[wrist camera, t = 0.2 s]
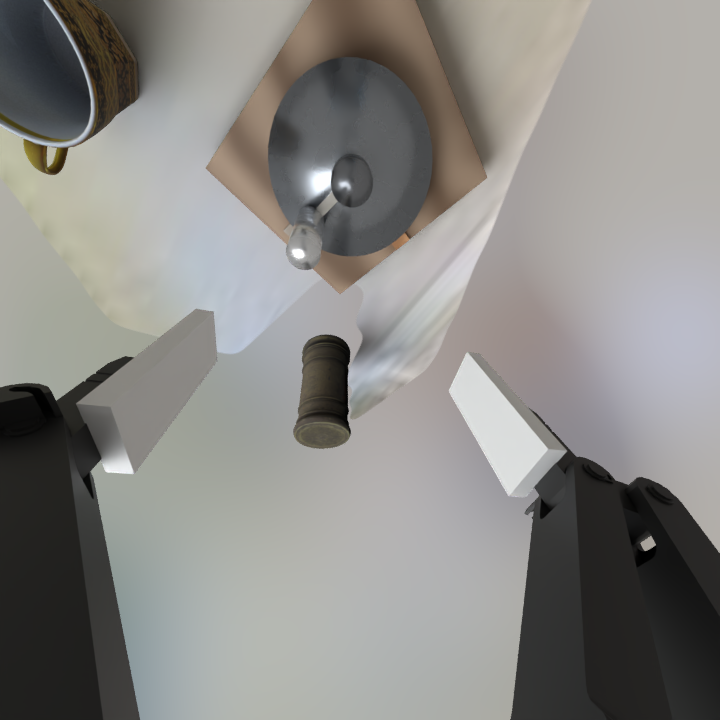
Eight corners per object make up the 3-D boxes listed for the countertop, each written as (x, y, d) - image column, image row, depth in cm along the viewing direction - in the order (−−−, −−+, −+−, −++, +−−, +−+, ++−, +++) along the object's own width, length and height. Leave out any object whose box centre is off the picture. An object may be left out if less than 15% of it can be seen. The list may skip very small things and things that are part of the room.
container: (297, 359, 53) (284, 445, 40) (311, 327, 47) (300, 416, 35) (339, 370, 56) (338, 453, 43) (357, 342, 50) (362, 428, 38)
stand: (371, -80, 19) (375, -101, 17) (477, 170, 31) (488, 178, 29) (215, 161, 29) (204, 169, 27) (340, 283, 41) (340, 295, 38)
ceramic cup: (-5, -95, 18) (-211, -197, 11) (163, 19, 22) (83, -7, 15) (45, 125, 26) (-59, 142, 20) (161, 181, 30) (108, 211, 23)
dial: (360, -10, 20) (370, -56, 13) (454, 183, 29) (489, 216, 22) (239, 163, 27) (203, 193, 20) (346, 273, 36) (347, 319, 29)
